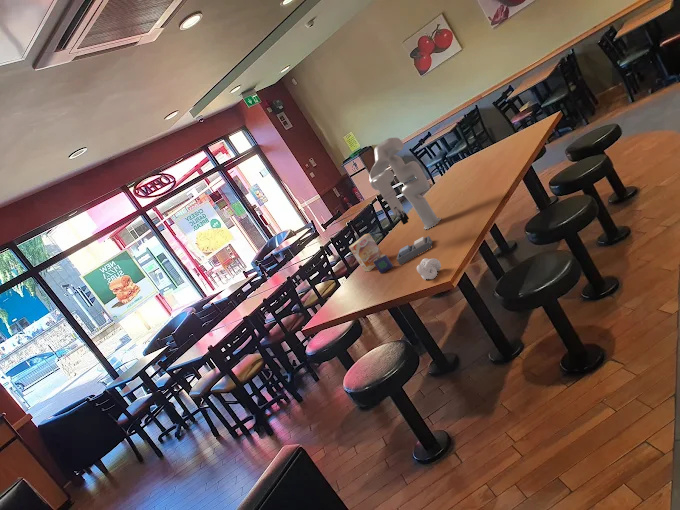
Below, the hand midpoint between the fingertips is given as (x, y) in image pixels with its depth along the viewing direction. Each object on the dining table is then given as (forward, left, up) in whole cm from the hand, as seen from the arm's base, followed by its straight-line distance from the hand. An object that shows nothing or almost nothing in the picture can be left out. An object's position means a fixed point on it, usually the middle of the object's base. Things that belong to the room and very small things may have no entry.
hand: (406, 221), depth 295 cm
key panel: (0, -5, -20) cm, 20 cm away
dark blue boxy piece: (+2, -25, -20) cm, 32 cm away
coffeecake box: (-22, -37, -20) cm, 47 cm away
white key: (0, 0, -17) cm, 17 cm away
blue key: (0, -10, -17) cm, 19 cm away
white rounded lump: (+50, +7, -20) cm, 54 cm away
